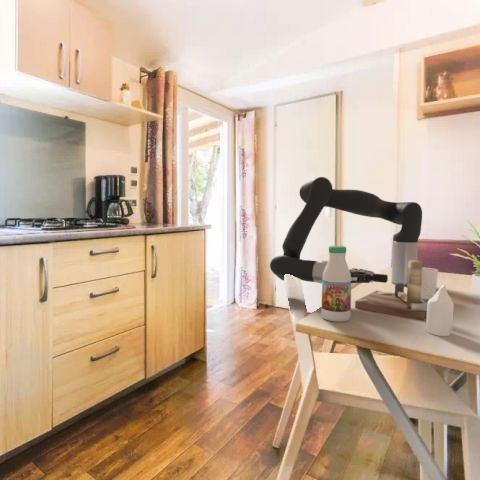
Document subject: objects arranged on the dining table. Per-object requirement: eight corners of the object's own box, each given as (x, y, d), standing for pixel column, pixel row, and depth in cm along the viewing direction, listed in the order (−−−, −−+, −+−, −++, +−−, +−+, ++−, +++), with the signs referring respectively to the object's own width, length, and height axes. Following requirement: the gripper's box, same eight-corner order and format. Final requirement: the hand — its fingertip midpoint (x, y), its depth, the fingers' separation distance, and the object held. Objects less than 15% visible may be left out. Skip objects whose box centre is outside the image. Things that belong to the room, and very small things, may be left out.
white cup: (440, 301, 113) (441, 271, 112) (414, 300, 114) (415, 270, 114) (431, 295, 121) (433, 267, 120) (407, 294, 122) (409, 266, 121)
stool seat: (376, 296, 120) (376, 289, 119) (438, 305, 107) (438, 299, 107) (355, 307, 105) (355, 300, 105) (423, 320, 93) (423, 312, 93)
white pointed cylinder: (426, 280, 87) (451, 282, 85) (423, 327, 88) (448, 329, 86) (430, 285, 81) (457, 287, 79) (427, 334, 82) (454, 338, 80)
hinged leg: (392, 294, 112) (393, 255, 111) (403, 294, 111) (405, 255, 110) (409, 307, 97) (411, 262, 96) (422, 308, 96) (424, 262, 95)
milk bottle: (317, 314, 98) (319, 244, 97) (343, 313, 99) (345, 244, 97) (326, 322, 91) (328, 247, 89) (354, 322, 91) (357, 247, 90)
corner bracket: (406, 306, 99) (406, 299, 99) (421, 306, 99) (421, 300, 99) (411, 310, 95) (412, 303, 95) (427, 311, 95) (428, 304, 94)
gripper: (323, 263, 105) (384, 269, 95) (336, 259, 116) (391, 263, 107) (322, 288, 105) (382, 295, 96) (335, 281, 116) (390, 287, 107)
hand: (387, 278), depth 101 cm, fingers closed
